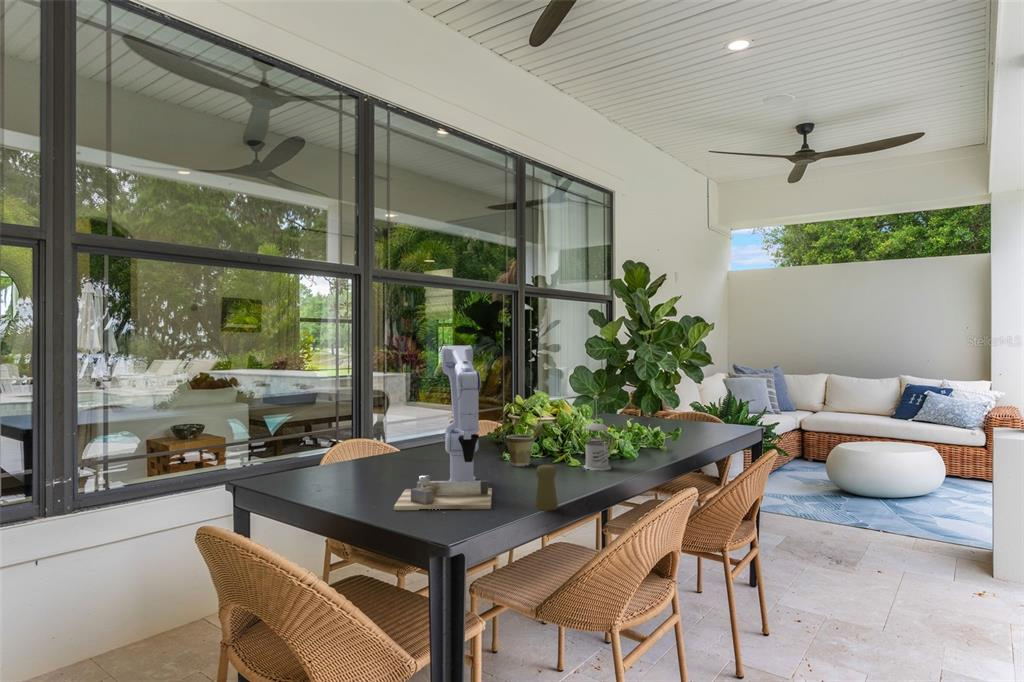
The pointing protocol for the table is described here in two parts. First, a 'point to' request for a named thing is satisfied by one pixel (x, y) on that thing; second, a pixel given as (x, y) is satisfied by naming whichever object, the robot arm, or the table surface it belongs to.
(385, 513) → the table surface
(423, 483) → the lever
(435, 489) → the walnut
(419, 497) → the grey rectangular block
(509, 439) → the flower pot
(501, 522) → the table surface
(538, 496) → the pepper mill
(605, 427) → the french press
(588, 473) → the table surface
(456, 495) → the cracker board
